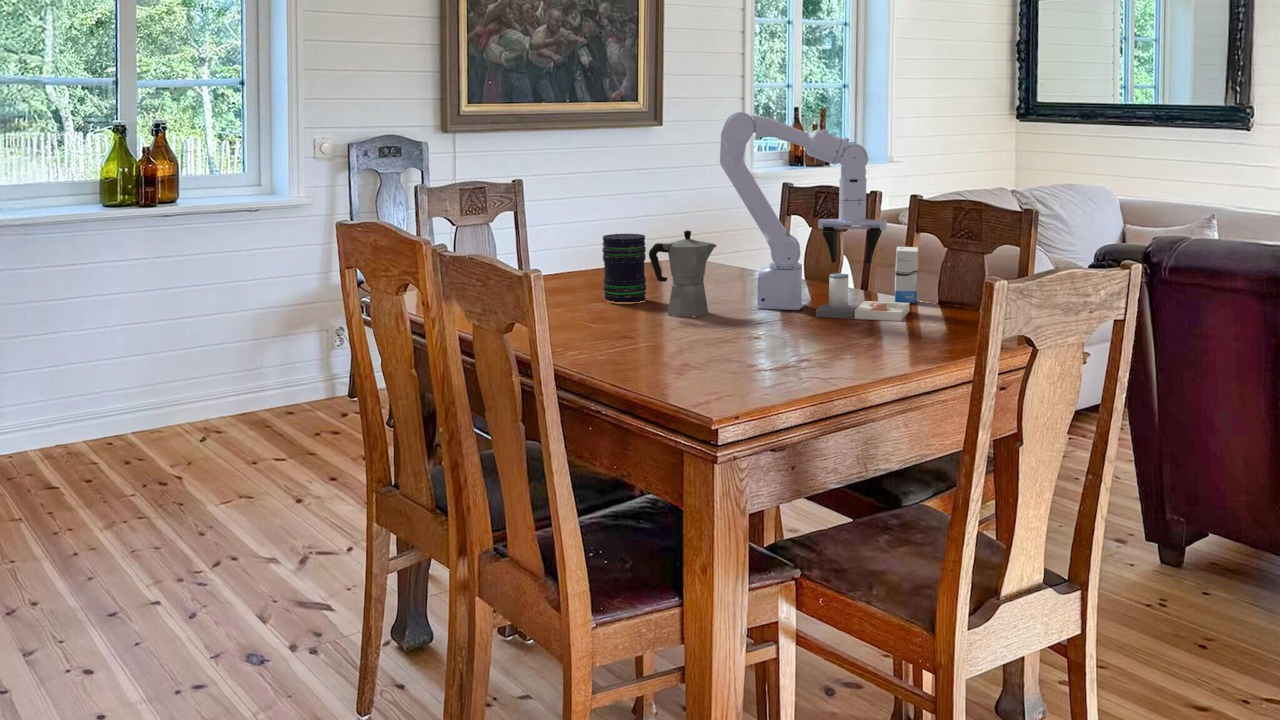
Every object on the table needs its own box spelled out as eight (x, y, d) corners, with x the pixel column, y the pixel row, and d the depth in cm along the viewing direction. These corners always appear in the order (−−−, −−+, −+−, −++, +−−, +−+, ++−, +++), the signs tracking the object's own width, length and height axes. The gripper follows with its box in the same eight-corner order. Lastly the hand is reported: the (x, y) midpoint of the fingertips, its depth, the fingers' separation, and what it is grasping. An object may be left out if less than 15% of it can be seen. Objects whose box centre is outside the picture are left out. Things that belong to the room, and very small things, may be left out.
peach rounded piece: (871, 318, 266) (872, 304, 265) (873, 316, 268) (874, 302, 268) (885, 319, 265) (885, 305, 264) (887, 317, 267) (887, 303, 267)
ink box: (917, 303, 283) (918, 250, 280) (894, 303, 284) (895, 250, 281) (916, 297, 291) (918, 246, 289) (894, 297, 292) (896, 245, 290)
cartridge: (826, 308, 270) (827, 275, 268) (831, 305, 273) (831, 273, 272) (845, 309, 268) (845, 276, 267) (849, 306, 272) (850, 273, 270)
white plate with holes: (854, 318, 266) (854, 310, 266) (864, 309, 277) (864, 301, 277) (900, 320, 263) (901, 312, 262) (909, 311, 274) (909, 302, 273)
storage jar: (654, 301, 291) (654, 236, 288) (618, 306, 285) (617, 239, 282) (630, 296, 299) (629, 232, 296) (595, 300, 294) (593, 235, 290)
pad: (815, 316, 269) (815, 309, 268) (823, 310, 276) (823, 303, 276) (853, 318, 266) (853, 311, 266) (860, 312, 273) (860, 305, 273)
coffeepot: (707, 308, 281) (707, 226, 277) (725, 315, 273) (725, 231, 269) (642, 313, 276) (641, 230, 272) (657, 320, 267) (656, 234, 264)
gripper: (815, 200, 273) (814, 263, 276) (882, 201, 268) (881, 265, 271) (822, 198, 280) (822, 259, 283) (888, 198, 275) (887, 261, 277)
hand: (851, 262), depth 277 cm, fingers open, 7 cm apart
